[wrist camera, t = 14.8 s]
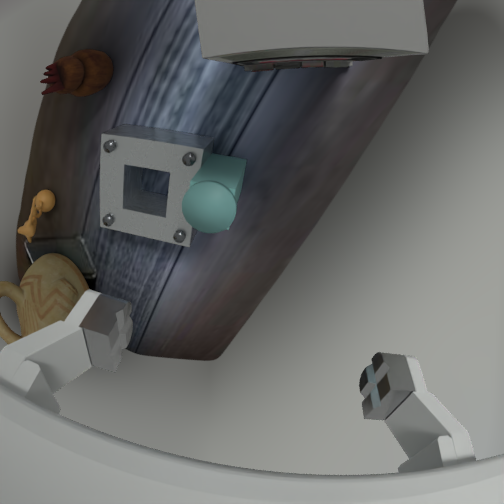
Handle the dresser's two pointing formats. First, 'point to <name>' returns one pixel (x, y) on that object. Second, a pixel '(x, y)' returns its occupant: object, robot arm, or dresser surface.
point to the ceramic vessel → (43, 294)
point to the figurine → (43, 204)
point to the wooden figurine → (79, 73)
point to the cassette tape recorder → (309, 31)
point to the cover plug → (214, 194)
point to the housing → (130, 180)
